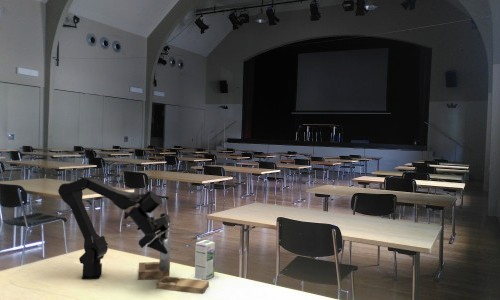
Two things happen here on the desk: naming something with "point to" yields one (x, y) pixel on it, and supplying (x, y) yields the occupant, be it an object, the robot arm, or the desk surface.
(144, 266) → the socket block
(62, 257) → the desk surface
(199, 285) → the brown wooden board
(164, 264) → the axle
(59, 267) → the desk surface
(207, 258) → the syrup box
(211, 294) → the desk surface
